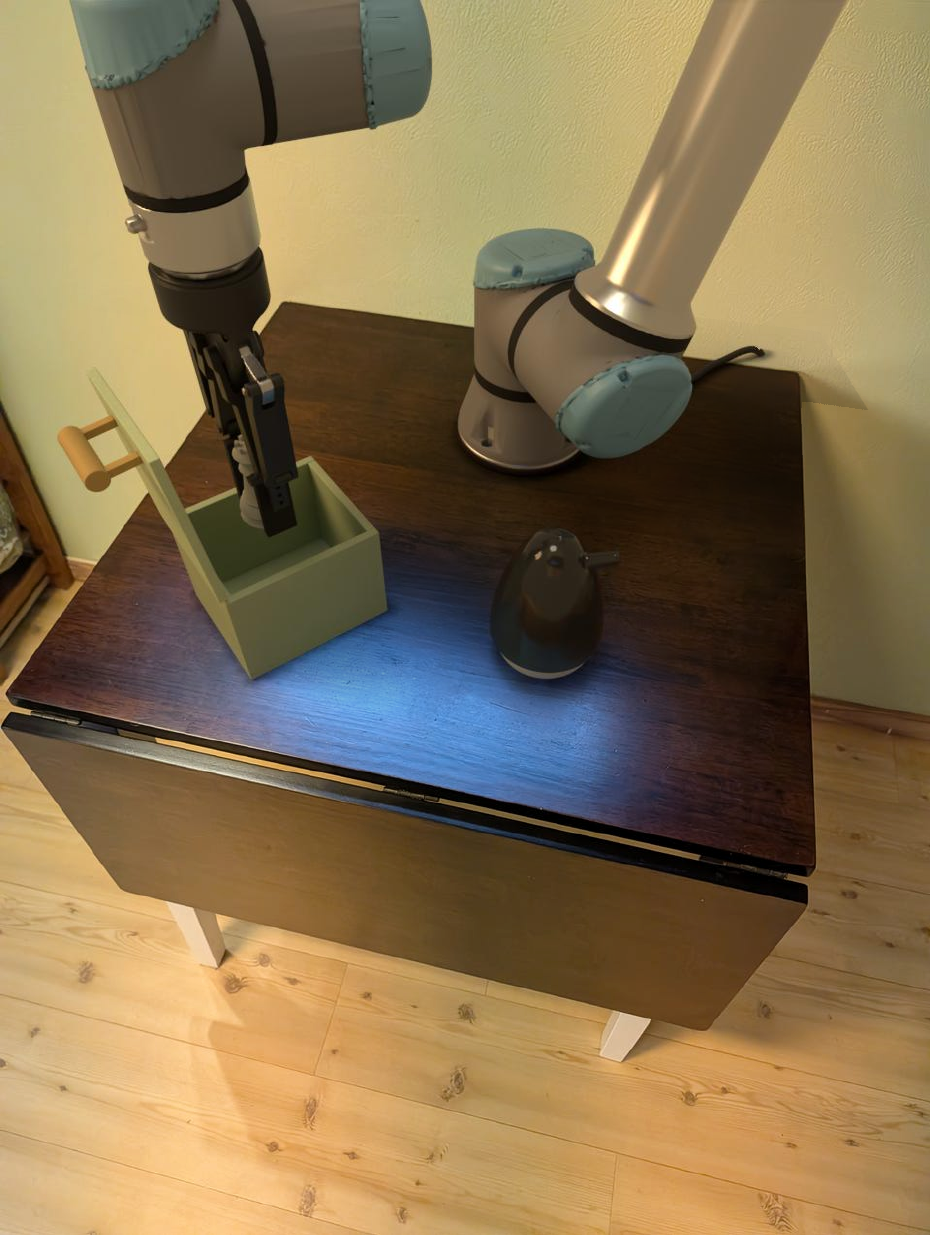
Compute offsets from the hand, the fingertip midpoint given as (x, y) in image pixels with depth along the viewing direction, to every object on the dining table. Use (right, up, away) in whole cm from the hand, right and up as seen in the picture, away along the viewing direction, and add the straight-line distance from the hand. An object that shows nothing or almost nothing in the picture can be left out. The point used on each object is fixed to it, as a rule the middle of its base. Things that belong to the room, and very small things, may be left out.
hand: (267, 511), depth 73 cm
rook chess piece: (0, 0, 0) cm, 0 cm away
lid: (-6, +1, -8) cm, 10 cm away
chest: (0, -8, +10) cm, 12 cm away
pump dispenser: (+25, -13, +6) cm, 28 cm away
